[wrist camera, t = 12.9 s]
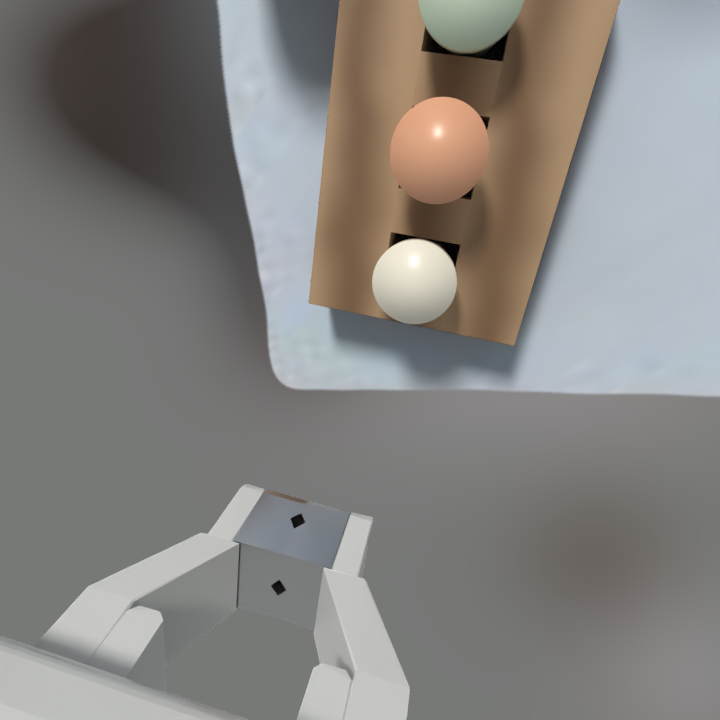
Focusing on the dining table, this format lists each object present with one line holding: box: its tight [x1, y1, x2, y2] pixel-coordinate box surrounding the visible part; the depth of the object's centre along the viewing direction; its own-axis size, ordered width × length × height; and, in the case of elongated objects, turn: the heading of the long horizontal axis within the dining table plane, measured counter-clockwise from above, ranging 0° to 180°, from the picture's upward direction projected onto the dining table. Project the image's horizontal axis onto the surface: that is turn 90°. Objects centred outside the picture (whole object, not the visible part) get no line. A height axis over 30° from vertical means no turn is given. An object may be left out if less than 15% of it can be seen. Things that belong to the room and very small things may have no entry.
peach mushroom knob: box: [390, 97, 489, 204], centre depth 30 cm, size 6×6×8 cm
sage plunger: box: [418, 0, 524, 58], centre depth 27 cm, size 6×6×8 cm
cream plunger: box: [372, 237, 457, 324], centre depth 34 cm, size 6×6×8 cm
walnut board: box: [309, 0, 620, 346], centre depth 33 cm, size 16×24×5 cm, turn 172°
